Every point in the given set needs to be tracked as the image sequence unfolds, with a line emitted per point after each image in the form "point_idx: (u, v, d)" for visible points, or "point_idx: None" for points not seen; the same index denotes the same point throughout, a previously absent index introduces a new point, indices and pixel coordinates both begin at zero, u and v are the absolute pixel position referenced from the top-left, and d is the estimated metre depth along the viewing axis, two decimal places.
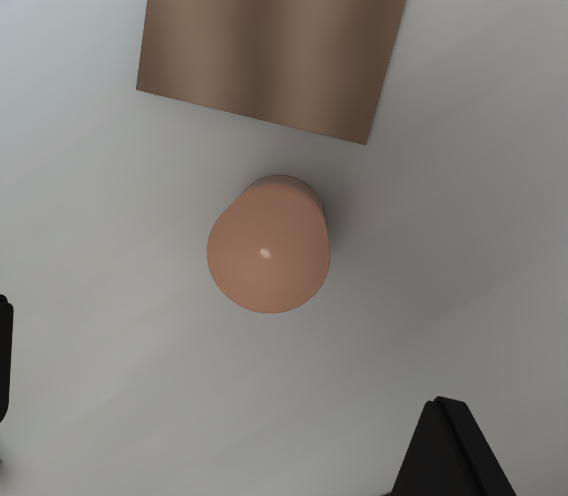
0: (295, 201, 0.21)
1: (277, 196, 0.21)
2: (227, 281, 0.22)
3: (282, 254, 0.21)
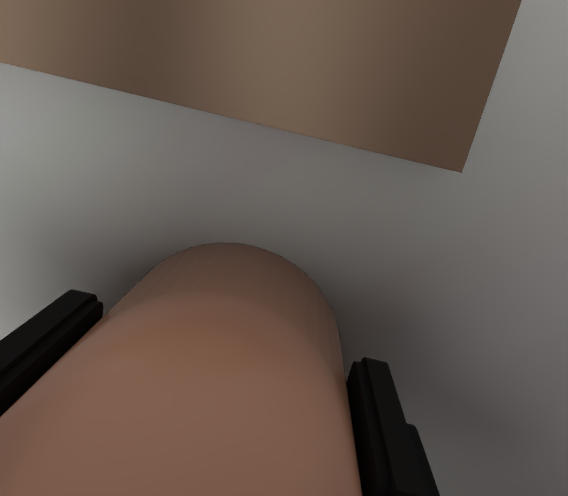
0: None
1: None
2: None
3: None
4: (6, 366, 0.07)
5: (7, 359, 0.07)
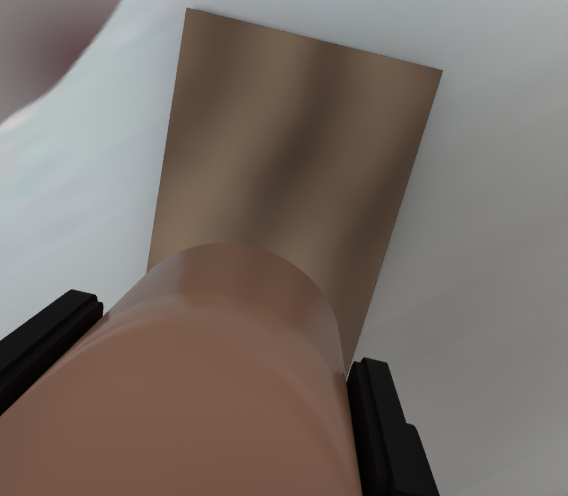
0: None
1: None
2: None
3: None
4: (6, 365, 0.07)
5: (7, 359, 0.07)
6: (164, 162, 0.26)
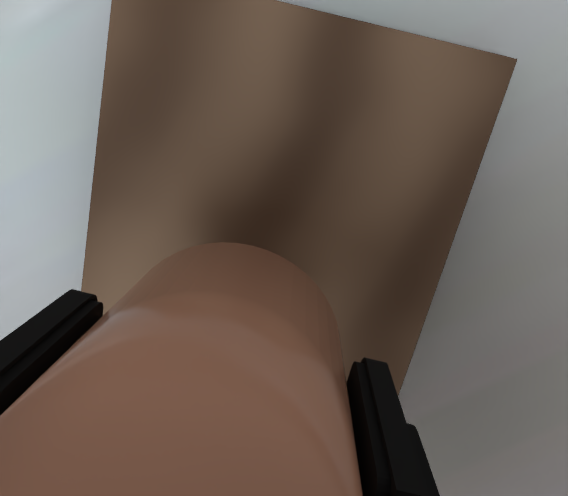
0: None
1: None
2: None
3: None
4: (7, 366, 0.07)
5: (7, 359, 0.07)
6: (93, 198, 0.18)
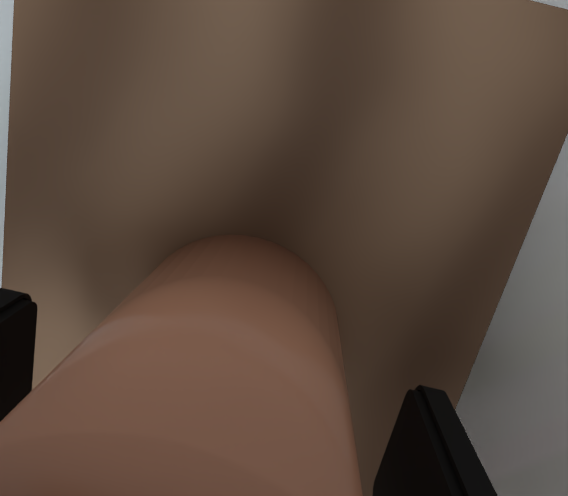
0: (235, 454, 0.05)
1: (151, 440, 0.05)
2: None
3: None
4: None
5: None
6: (8, 220, 0.13)
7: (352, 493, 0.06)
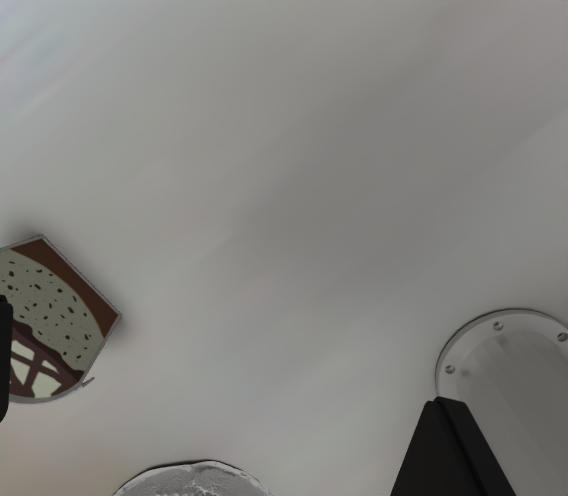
0: None
1: None
2: None
3: None
4: None
5: None
6: None
7: None
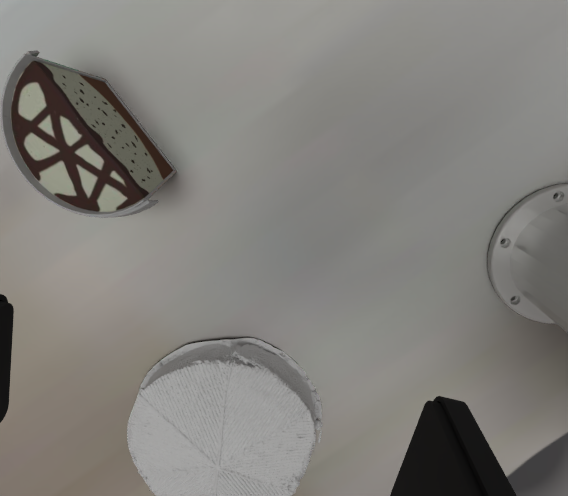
0: None
1: None
2: None
3: None
4: None
5: None
6: None
7: None
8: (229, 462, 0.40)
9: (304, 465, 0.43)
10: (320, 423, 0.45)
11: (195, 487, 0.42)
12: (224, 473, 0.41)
